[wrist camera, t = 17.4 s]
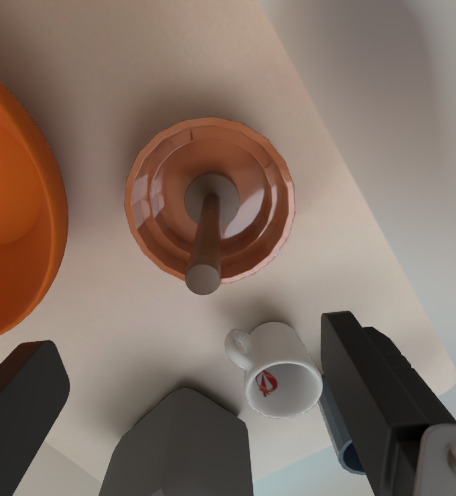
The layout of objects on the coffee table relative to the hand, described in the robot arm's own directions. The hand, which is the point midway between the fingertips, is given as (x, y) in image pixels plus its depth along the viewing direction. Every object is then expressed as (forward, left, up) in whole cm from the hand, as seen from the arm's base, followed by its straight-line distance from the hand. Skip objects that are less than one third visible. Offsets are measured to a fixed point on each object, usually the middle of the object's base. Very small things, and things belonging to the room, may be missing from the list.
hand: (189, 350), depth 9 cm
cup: (-4, +18, -23) cm, 30 cm away
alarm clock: (+9, +32, -23) cm, 41 cm away
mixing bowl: (0, 0, -23) cm, 23 cm away
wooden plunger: (0, 0, -23) cm, 23 cm away
